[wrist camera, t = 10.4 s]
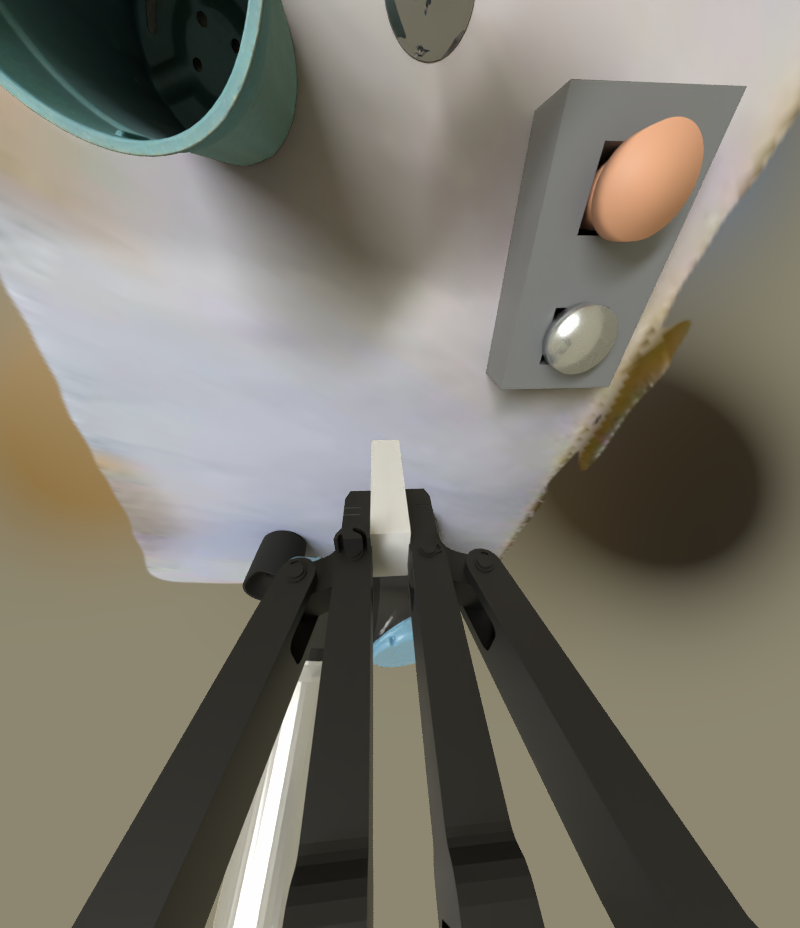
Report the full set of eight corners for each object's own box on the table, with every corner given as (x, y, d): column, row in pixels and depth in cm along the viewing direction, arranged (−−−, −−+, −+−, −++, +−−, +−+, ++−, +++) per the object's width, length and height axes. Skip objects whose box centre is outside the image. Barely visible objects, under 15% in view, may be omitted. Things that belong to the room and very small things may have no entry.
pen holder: (264, 523, 55) (246, 569, 47) (313, 534, 58) (303, 579, 50) (257, 551, 60) (239, 597, 52) (302, 560, 63) (292, 605, 55)
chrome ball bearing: (568, 356, 38) (600, 373, 33) (517, 356, 38) (542, 375, 32) (588, 296, 34) (630, 304, 29) (532, 296, 34) (563, 305, 28)
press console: (581, 371, 41) (608, 387, 36) (486, 373, 40) (500, 389, 35) (680, 115, 27) (746, 86, 22) (534, 111, 26) (571, 78, 21)
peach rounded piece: (615, 243, 30) (669, 241, 25) (551, 242, 30) (592, 241, 24) (650, 146, 26) (725, 117, 20) (576, 144, 26) (632, 115, 20)
